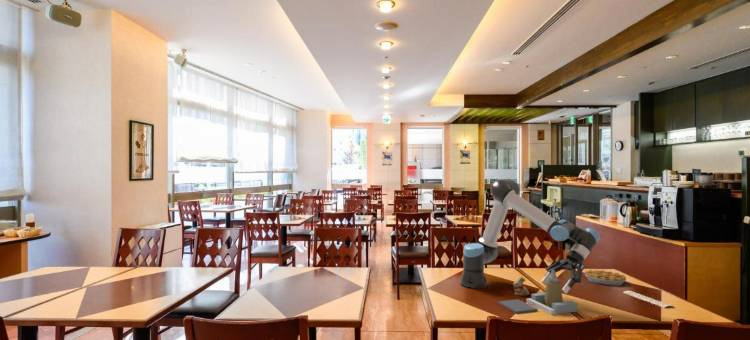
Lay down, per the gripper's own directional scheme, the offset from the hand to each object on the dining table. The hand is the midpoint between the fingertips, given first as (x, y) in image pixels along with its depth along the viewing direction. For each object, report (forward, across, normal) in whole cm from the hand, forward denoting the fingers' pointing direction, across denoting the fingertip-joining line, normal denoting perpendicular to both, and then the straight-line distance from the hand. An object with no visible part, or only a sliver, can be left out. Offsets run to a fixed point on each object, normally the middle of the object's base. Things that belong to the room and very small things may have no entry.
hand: (553, 287), depth 179 cm
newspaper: (-32, -5, -47) cm, 57 cm away
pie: (-39, +28, -53) cm, 71 cm away
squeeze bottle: (+7, 0, -7) cm, 10 cm away
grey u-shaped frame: (+7, 0, -6) cm, 10 cm away
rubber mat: (+19, +5, +6) cm, 20 cm away
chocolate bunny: (+8, +20, -5) cm, 23 cm away
